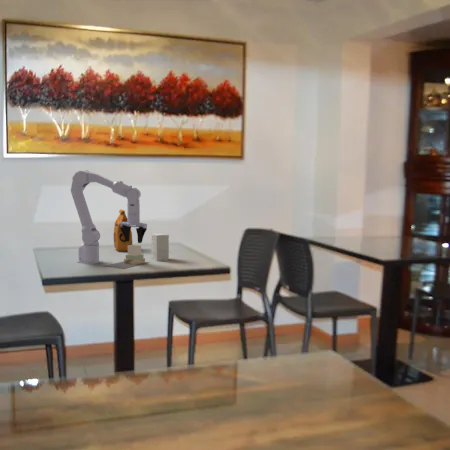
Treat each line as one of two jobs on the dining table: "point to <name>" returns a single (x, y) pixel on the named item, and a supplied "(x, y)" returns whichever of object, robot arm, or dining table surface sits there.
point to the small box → (160, 247)
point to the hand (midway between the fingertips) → (133, 242)
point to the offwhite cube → (134, 250)
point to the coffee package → (121, 233)
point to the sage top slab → (134, 257)
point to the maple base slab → (134, 261)
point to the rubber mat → (123, 265)
